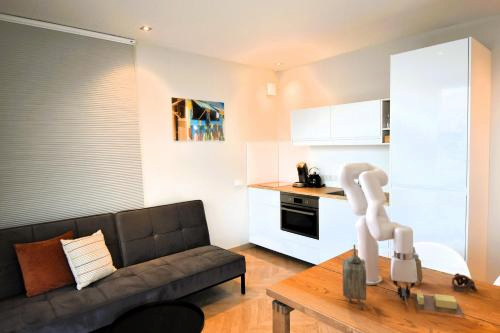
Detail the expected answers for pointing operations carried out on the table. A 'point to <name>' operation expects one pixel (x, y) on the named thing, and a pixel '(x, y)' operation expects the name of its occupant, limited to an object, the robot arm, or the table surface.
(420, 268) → the squeeze bottle
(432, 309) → the cutting board
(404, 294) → the knife
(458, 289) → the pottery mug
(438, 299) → the butter
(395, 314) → the table surface
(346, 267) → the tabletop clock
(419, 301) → the butter slice
